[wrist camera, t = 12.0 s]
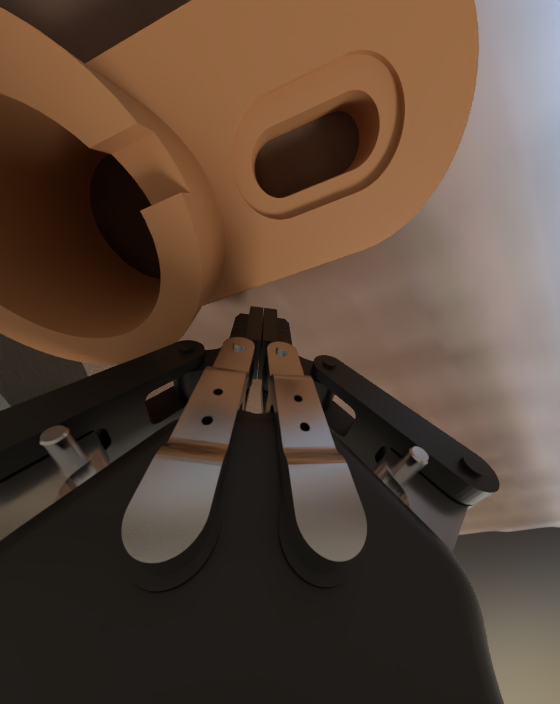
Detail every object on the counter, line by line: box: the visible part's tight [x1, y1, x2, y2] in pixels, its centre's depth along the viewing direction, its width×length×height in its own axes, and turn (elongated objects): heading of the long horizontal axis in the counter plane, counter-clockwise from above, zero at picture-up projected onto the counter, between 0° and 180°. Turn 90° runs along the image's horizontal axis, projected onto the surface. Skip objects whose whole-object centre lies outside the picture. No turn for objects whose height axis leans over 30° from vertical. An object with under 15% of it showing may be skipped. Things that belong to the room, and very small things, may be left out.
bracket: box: [0, 0, 479, 365], centre depth 8 cm, size 18×8×7 cm, turn 108°
